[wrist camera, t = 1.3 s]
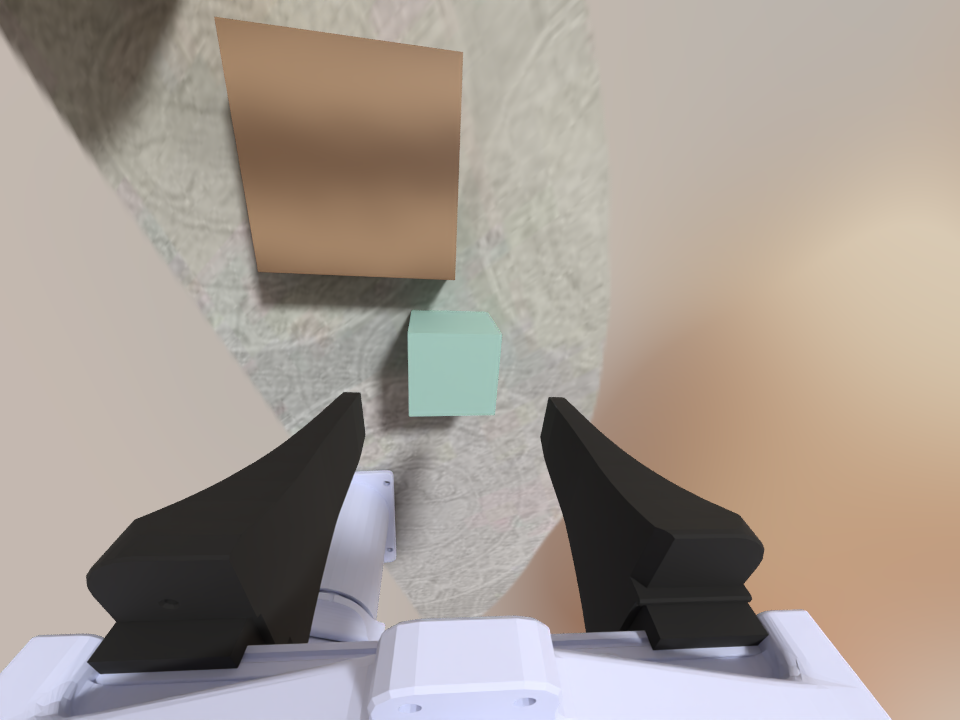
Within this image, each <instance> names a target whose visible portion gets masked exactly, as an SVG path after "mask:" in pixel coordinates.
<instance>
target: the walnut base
mask: <svg viewBox="0 0 960 720" xmlns="http://www.w3.org/2000/svg"><path fill="white" fill-rule="evenodd" d="M214 18H215V24H216V29H217V35H218V41H219V47H220V53H221V59H222V64H223V70H224V76H225V82H226V88H227V94H228V99H229V105H230V111H231V117H232V123H233V129H234V134H235V140H236V146H237V152H238V158H239V164H240V169H241V175H242V181H243V187H244V193H245V199H246V204H247V210H248V216H249V222H250V228H251V233H252V239H253V245H254V251H255V257H256V263H257V268H258V272H273V273H297V274H321V275H345V276H369V277H393V278H417V279H441V280H455V264H456V235H457V207H458V179H459V150H460V122H461V94H462V65H463V52H458V51H451V50H444V49H437V48H430V47H423V46H416V45H409V44H402V43H395V42H387V41H380V40H373V39H366V38H359V37H352V36H345V35H338V34H331V33H324V32H317V31H310V30H303V29H296V28H289V27H282V26H275V25H268V24H261V23H254V22H247V21H240V20H233V19H226V18H219V17H214Z"/></svg>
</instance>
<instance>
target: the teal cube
mask: <svg viewBox="0 0 960 720" xmlns="http://www.w3.org/2000/svg"><path fill="white" fill-rule="evenodd" d="M501 342H502V334H501V332H500V331H499V329H498V327H497V326H496V324H495V323H494V321H493V320H492V318H491V317H490V315H489V313H488V312H468V311H433V310H412V311H411V317H410V323H409V328H408V388H409V417H414V416H469V415H495V407H496V396H497V386H498V375H499V364H500V353H501Z"/></svg>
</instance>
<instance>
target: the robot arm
mask: <svg viewBox="0 0 960 720" xmlns="http://www.w3.org/2000/svg"><path fill="white" fill-rule="evenodd" d="M364 439H365V427H364V419H363V411H362V402H361V394H360V393H353V392H343V393H342V394H341V395H340V396H339V397H338V398H336V399H335V400H334V401H333V402H332V403H331V404H330V405H329V406H328V407H326V408H325V409H324V410H323V411H322V412H321V413H320V414H319V415H317V416H316V417H315V418H314V419H313V420H312V421H310V422H309V423H308V424H307V425H306V426H305V427H303V428H302V429H301V430H300V431H298V432H297V433H296V434H294V435H293V436H292V437H291V438H289V439H288V440H287V441H285V442H284V443H283V444H281V445H280V446H279V447H277V448H276V449H274V450H273V451H271V452H270V453H269V454H267V455H265V456H264V457H262V458H261V459H259V460H257V461H256V462H254V463H252V464H251V465H249V466H247V467H245V468H244V469H242V470H240V471H239V472H237V473H235V474H233V475H231V476H230V477H228V478H226V479H224V480H222V481H220V482H219V483H217V484H215V485H213V486H211V487H209V488H207V489H205V490H202V491H200V492H198V493H196V494H194V495H192V496H190V497H188V498H185V499H183V500H181V501H179V502H176V503H174V504H172V505H169V506H167V507H165V508H162V509H160V510H157V511H155V512H152V513H150V514H148V515H145V516H143V517H140V518H138V519H135V520H134V521H133V522H132V523H131V524H130V526H128V528H127V529H126V530H125V531H124V532H123V533H122V534H121V535H120V536H119V538H118V539H117V540H116V541H115V542H114V543H113V544H112V545H111V546H110V548H109V549H108V550H107V551H106V552H105V553H104V555H102V556H101V558H100V559H99V560H98V561H97V562H96V563H95V564H94V565H93V567H92V568H91V569H90V570H89V572H88V574H87V575H86V579H87V587H88V589H89V591H90V592H91V593H92V595H93V597H94V598H95V599H96V600H97V601H98V602H99V603H100V604H101V605H102V607H103V608H104V609H105V610H106V611H107V612H108V613H109V614H110V615H111V616H112V618H113V619H114V620H115V621H116V623H115V625H114V626H113V627H112V629H111V630H110V631H109V633H108V634H107V635H106V637H105V638H103V637H101V636H98V635H94V634H59V635H38V636H36V637H33V638H31V640H30V641H29V642H28V643H27V644H26V645H25V646H24V647H23V649H22V650H21V651H20V652H19V653H18V654H17V655H16V657H14V659H13V660H12V661H11V662H10V663H9V664H8V665H7V666H6V668H5V669H4V670H3V671H2V672H1V673H0V720H891V718H890V717H889V716H888V714H887V713H886V712H885V710H884V709H883V708H882V707H881V706H880V704H879V703H878V702H877V700H876V699H875V698H874V696H873V695H872V694H871V693H870V691H869V690H868V689H867V688H866V686H865V685H864V684H863V682H862V681H861V680H860V679H859V677H858V676H857V675H856V673H855V672H854V671H853V670H852V668H851V667H850V666H849V665H848V663H847V662H846V661H845V659H844V658H843V657H842V656H841V654H840V653H839V652H838V650H837V649H836V648H835V647H834V645H833V644H832V643H831V642H830V640H829V639H828V638H827V637H826V635H825V634H824V633H823V631H822V630H821V629H820V627H819V626H818V625H817V624H816V623H815V621H814V620H813V618H812V617H811V616H810V615H809V613H808V612H807V611H805V610H802V609H800V610H771V611H764V612H761V613H759V614H757V615H756V614H755V613H754V611H753V610H752V609H751V607H750V606H749V604H748V602H750V601H751V600H752V597H751V595H750V593H749V592H748V590H747V589H746V587H745V586H744V583H745V581H746V580H747V579H748V578H749V577H750V576H751V574H752V573H753V572H754V571H755V569H756V568H757V567H758V566H759V564H760V562H761V561H762V559H763V554H764V547H763V544H762V543H761V541H760V540H759V539H758V537H757V536H756V535H755V534H754V532H753V531H752V530H751V529H750V528H749V526H748V525H747V524H746V522H745V521H744V520H743V519H742V518H741V516H739V515H738V514H736V513H734V512H732V511H729V510H727V509H725V508H722V507H720V506H718V505H716V504H713V503H711V502H709V501H707V500H704V499H703V498H700V497H698V496H696V495H695V494H693V493H691V492H689V491H687V490H685V489H683V488H681V487H679V486H677V485H676V484H674V483H672V482H670V481H668V480H667V479H665V478H663V477H662V476H660V475H658V474H657V473H655V472H654V471H652V470H650V469H649V468H647V467H646V466H644V465H643V464H641V463H640V462H638V461H637V460H636V459H634V458H633V457H631V456H630V455H628V454H627V453H626V452H624V451H623V450H622V449H620V448H619V447H618V446H617V445H616V444H614V443H613V442H612V441H610V440H609V439H608V438H607V437H606V436H605V435H604V434H602V433H601V432H600V431H599V430H598V429H597V428H596V427H595V426H593V425H592V424H591V423H590V422H589V421H588V420H587V419H586V418H585V417H584V416H583V415H582V414H581V413H580V412H579V411H578V410H577V409H576V408H575V407H574V406H572V405H571V404H570V403H569V402H568V401H567V400H566V399H565V398H562V397H549V398H548V403H547V408H546V413H545V417H544V422H543V427H542V432H541V443H542V449H543V454H544V459H545V462H546V465H547V469H548V472H549V475H550V478H551V481H552V484H553V487H554V490H555V493H556V496H557V499H558V501H559V504H560V507H561V510H562V514H563V517H564V521H565V524H566V529H567V533H568V538H569V542H570V547H571V552H572V556H573V561H574V566H575V571H576V576H577V582H578V587H579V593H580V598H581V603H582V609H583V616H584V622H585V629H586V633H567V634H550V630H549V627H548V626H546V625H545V624H544V623H542V622H540V621H538V620H536V619H535V618H532V617H523V616H489V617H458V618H427V619H416V620H410V621H404V622H399V623H398V624H396V625H394V626H392V627H390V628H388V629H387V630H385V623H382V622H379V621H377V620H376V618H377V610H378V602H379V594H380V587H381V579H382V571H383V564H384V563H385V562H393V561H394V560H395V559H396V527H395V501H394V475H393V473H392V472H391V471H389V470H379V471H356V468H357V465H358V462H359V460H360V456H361V452H362V448H363V443H364ZM385 481H389V483H385Z"/></svg>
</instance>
